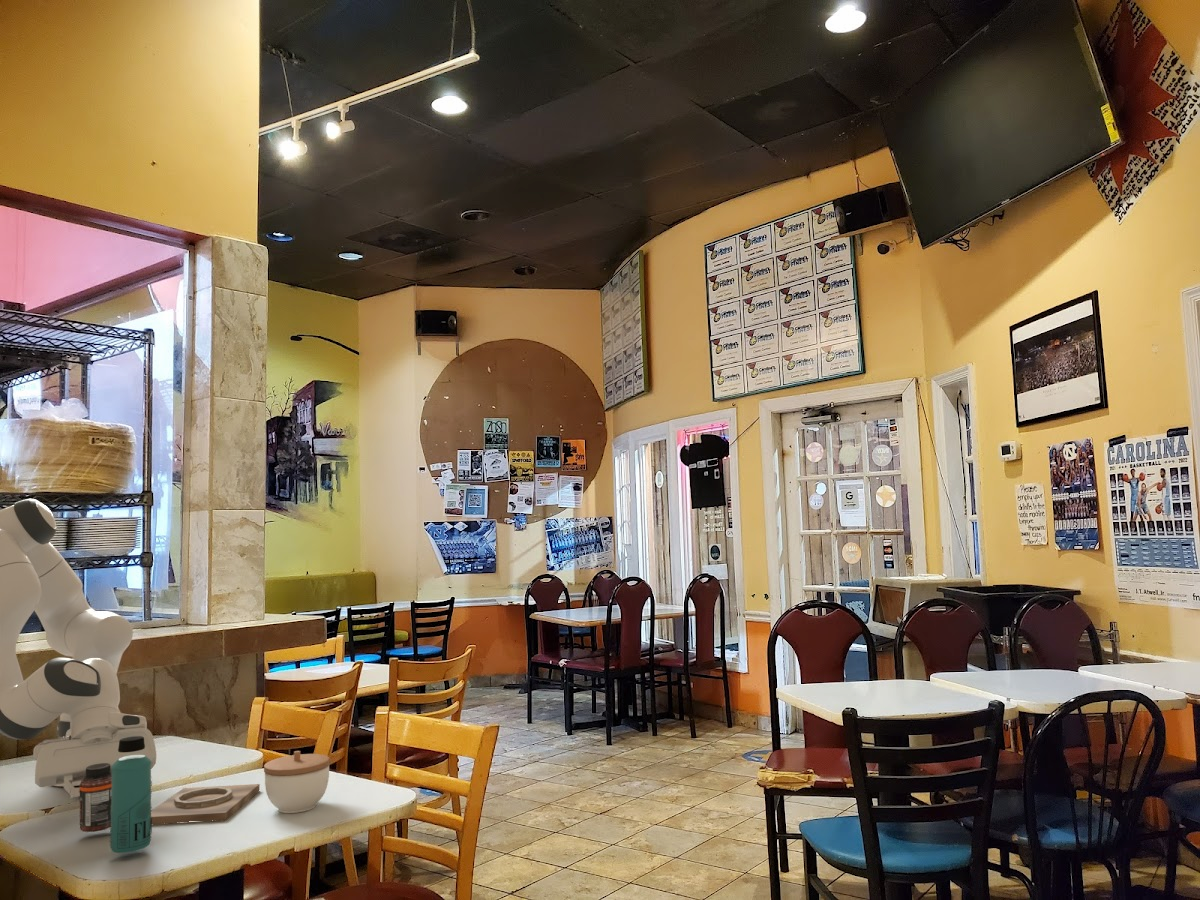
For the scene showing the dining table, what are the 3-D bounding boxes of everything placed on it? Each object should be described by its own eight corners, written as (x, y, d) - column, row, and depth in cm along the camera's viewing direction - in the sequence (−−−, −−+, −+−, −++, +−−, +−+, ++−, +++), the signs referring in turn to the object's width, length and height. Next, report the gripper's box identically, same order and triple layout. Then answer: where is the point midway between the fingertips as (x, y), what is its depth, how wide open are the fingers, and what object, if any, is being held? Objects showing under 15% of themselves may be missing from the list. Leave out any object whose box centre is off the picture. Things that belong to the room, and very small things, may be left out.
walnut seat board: (183, 795, 188) (183, 783, 188) (259, 791, 189) (259, 779, 189) (140, 825, 168) (140, 812, 168) (225, 820, 169) (225, 807, 169)
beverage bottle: (133, 863, 148) (135, 741, 150) (99, 861, 149) (101, 741, 151) (160, 849, 154) (161, 733, 156) (127, 848, 156) (129, 733, 158)
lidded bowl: (266, 822, 168) (266, 762, 169) (261, 805, 179) (261, 749, 180) (334, 810, 173) (334, 753, 174) (325, 795, 184) (325, 741, 185)
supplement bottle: (81, 825, 165) (82, 764, 166) (117, 820, 167) (117, 759, 168) (77, 835, 160) (77, 771, 161) (114, 829, 162) (114, 766, 163)
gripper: (33, 731, 165) (32, 797, 156) (154, 715, 176) (159, 775, 167) (33, 751, 169) (32, 816, 160) (152, 734, 180) (156, 794, 170)
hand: (98, 795), depth 163 cm, fingers closed on supplement bottle, 6 cm apart
